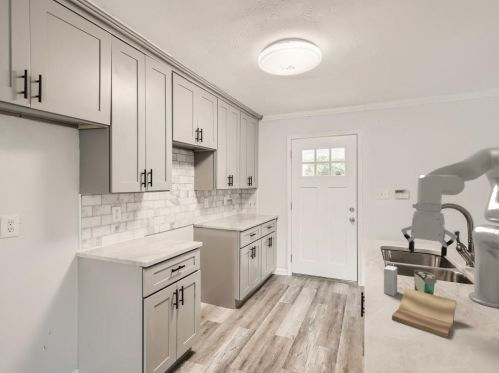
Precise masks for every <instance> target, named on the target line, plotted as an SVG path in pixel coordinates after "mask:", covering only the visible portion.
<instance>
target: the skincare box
mask: <svg viewBox="0 0 499 373" xmlns="http://www.w3.org/2000/svg"><path fill="white" fill-rule="evenodd" d="M397 293H398V267H397V266H392V265H386V266H385V267H384V268H383V294H385V295H389V296H393V297H395V295H396V294H397Z"/></svg>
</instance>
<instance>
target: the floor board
mask: <svg viewBox="0 0 499 373" xmlns="http://www.w3.org/2000/svg"><path fill="white" fill-rule="evenodd" d="M391 321H395V322H398V323H401V324H404V325H408V326H410V327H413V328H416V329H419V330H421V331H425V332H428V333H431V334H434V335H438V336H440V337H443V338H446V339H448V338H449V336H450V334H451V331H452V330H453V328H452V327H453V326H452V324H449V323H445V322H442V321H439V320H435V319H432V318H429V317H425V316H422V315H419V314H416V313H412V312H409V311H406V310H402V309H399V307H398V308H397V309H396V310H395V312H393V314H392V315H391Z"/></svg>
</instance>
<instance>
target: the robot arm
mask: <svg viewBox="0 0 499 373" xmlns="http://www.w3.org/2000/svg"><path fill="white" fill-rule="evenodd" d="M483 175H485V176H486V178H487V181H488V183H489V185H490V186H489V187H490V191H489V196H488V199H487V202H486V205H485V207H484V212H483V217H484V219H485V220H486V221H488V222H489V223H493V224H497V225H493V224H478V225H476V226H475V227H474V228H473V229H472V231H471V232H472V233H471V236H472V237H471V238H472V242H473V248H474V271H473V272H474V273H473V274H474V275H473V276H474V277H473V292H469V294H468V297H469V299H470V300H471V301H473V302H475V303H478V304H480V305H483V306H487V307H491V308H499V146H498V147H497V146H495V147H487V148H482V149H479V150H477V151H476V152H474V153H472V154H471V155H469V156H467V157H466V158H464V159H463V160H460V161H457V162H453V163H451V164H448V165H445V166H441V167H438V168H436V169H434V170H432V171H430V172H428V173H426V174H421V175H419V176H418V178H417V194H416V195H417V196H416V203H415V204H412V205H411V206H412V208H413V209H415V210H414V211H413V214H412V219H411V225H410V226H407V227H403V228H401V229H400V230H401V232H402V234H403V237H404V238H405V239H406V240H407V242H408V250H409V253H410V254H411V253H414V252H415V241H414V240H415V239H417V240H418V239H419V240H425V241H433V242H439V243H440V244H441V248H440V258H441V259H444V258H445V257H447V256H448V254H447V253H448V247H449V246H450V245H452V244H453V243H454V242H455V241H456V240H457V238H458V235H456V234H455V233H453V232H451V231H449V230H448V229H446V224H445V216H444V215H445V214H444V213H443V212H442V202H443V201H442V198H443V197H442V196H456V195H459V194H461V193H462V192H463V191H464V190H465V186H466V183H465V182H469V181H474V180H477V179H478V178H480V177H482V176H483ZM408 231H410V235H411V236H410V235H409V234H408ZM446 235H447V236H449V237H450V239H449V240H448V241H446V240H445V239H446V238H445V237H446Z"/></svg>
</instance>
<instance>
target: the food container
mask: <svg viewBox="0 0 499 373" xmlns="http://www.w3.org/2000/svg"><path fill="white" fill-rule="evenodd" d="M413 276H414V278H413V279H414V280H413V281H414V283H413V284H414V290H416V291H420V292H424V293H428V294H432V295H435V294H434V292H435V284H436V283H437V282H438V281H437V278H436V275H434V274H433V273H432V272H428V271H425V270H420V269H414V271H413Z"/></svg>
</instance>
